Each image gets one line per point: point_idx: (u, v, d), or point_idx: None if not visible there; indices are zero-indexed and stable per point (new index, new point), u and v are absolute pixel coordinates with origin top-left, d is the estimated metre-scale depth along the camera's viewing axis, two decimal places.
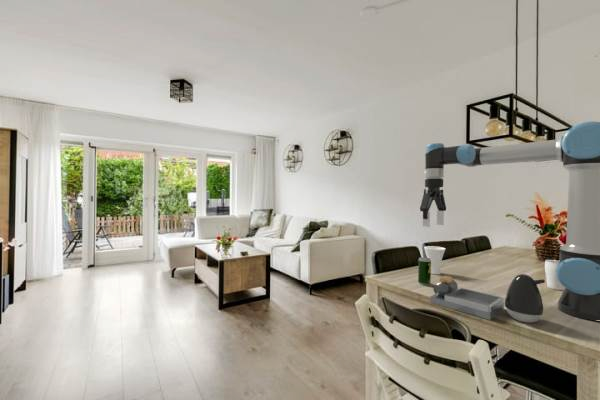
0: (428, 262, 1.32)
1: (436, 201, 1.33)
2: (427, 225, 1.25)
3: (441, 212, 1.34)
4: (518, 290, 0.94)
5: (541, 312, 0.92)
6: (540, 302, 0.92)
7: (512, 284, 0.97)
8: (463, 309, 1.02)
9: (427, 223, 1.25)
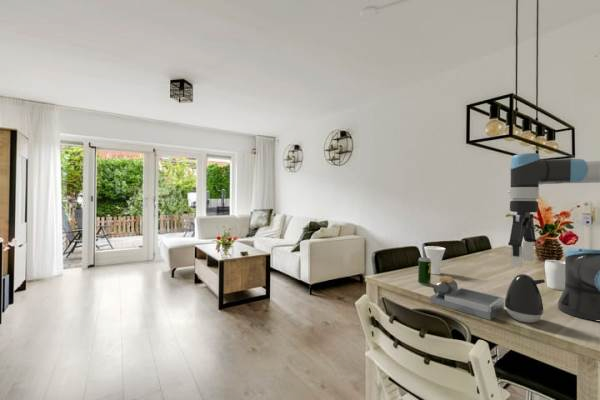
0: (428, 262, 1.32)
1: (524, 230, 1.00)
2: (519, 265, 0.92)
3: (530, 244, 1.00)
4: (518, 290, 0.94)
5: (541, 312, 0.92)
6: (540, 302, 0.92)
7: (512, 284, 0.97)
8: (463, 309, 1.02)
9: (519, 262, 0.92)
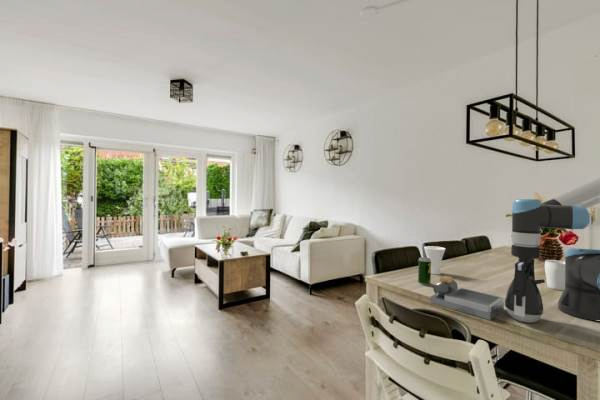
0: (428, 262, 1.32)
1: None
2: (522, 314, 0.92)
3: None
4: None
5: (541, 312, 0.92)
6: (540, 302, 0.92)
7: (512, 284, 0.97)
8: (463, 309, 1.02)
9: (522, 312, 0.92)
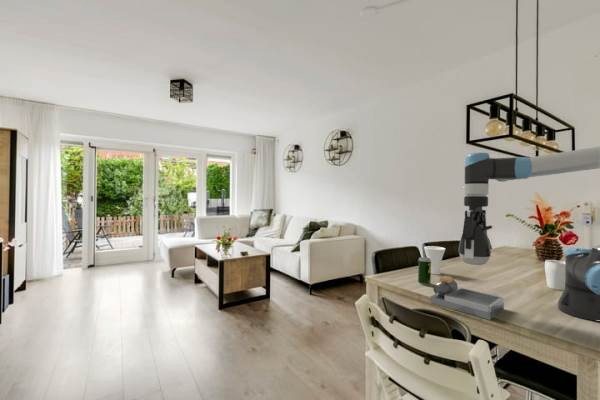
0: (428, 262, 1.32)
1: None
2: (471, 257, 1.02)
3: None
4: None
5: (488, 254, 1.02)
6: (487, 245, 1.02)
7: None
8: (463, 309, 1.02)
9: (471, 254, 1.02)
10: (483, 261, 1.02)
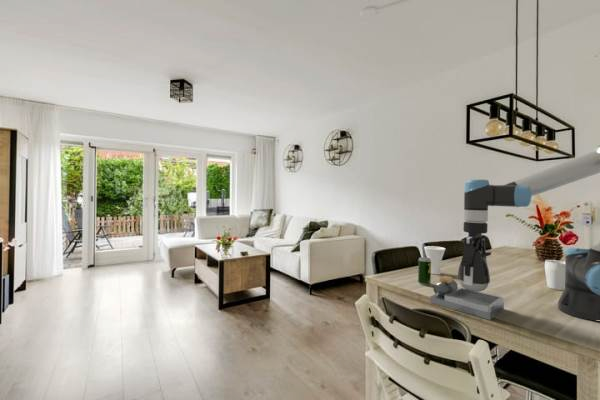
0: (428, 262, 1.32)
1: None
2: (470, 283, 1.02)
3: None
4: None
5: (487, 281, 1.02)
6: (486, 272, 1.02)
7: None
8: (463, 309, 1.02)
9: (470, 281, 1.02)
10: (482, 288, 1.02)
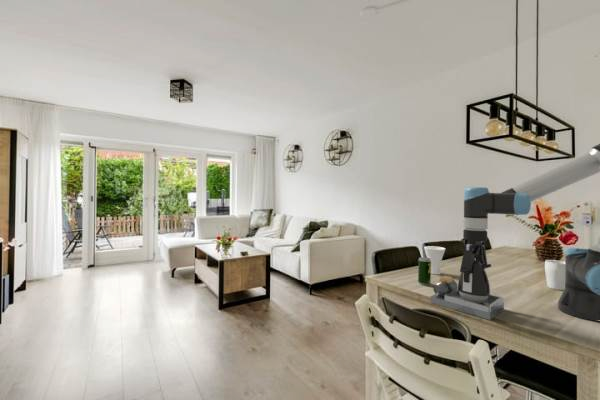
0: (428, 262, 1.32)
1: (476, 256, 1.09)
2: (469, 290, 1.01)
3: None
4: None
5: (487, 293, 1.02)
6: (486, 284, 1.02)
7: None
8: (463, 309, 1.02)
9: (469, 288, 1.01)
10: (482, 300, 1.02)
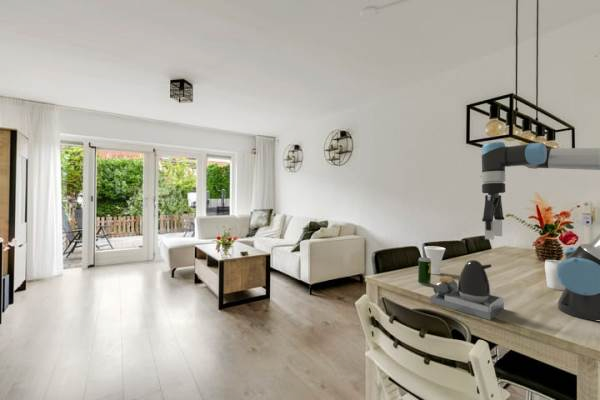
0: (428, 262, 1.32)
1: (494, 209, 1.15)
2: (491, 237, 1.07)
3: (499, 221, 1.16)
4: (467, 274, 1.04)
5: (487, 294, 1.02)
6: (486, 285, 1.02)
7: (463, 269, 1.07)
8: (463, 309, 1.02)
9: (491, 235, 1.07)
10: (482, 300, 1.02)
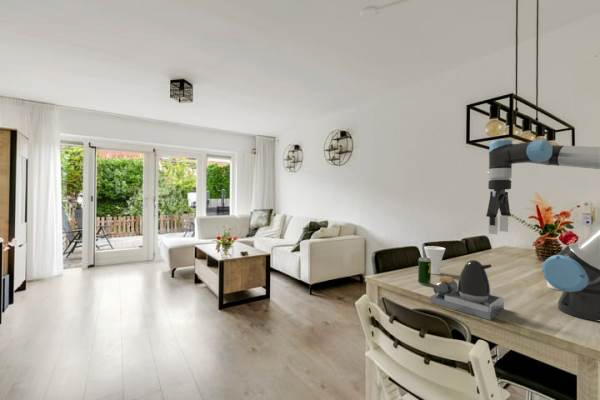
0: (428, 262, 1.32)
1: (500, 205, 1.18)
2: (495, 232, 1.10)
3: (505, 217, 1.19)
4: (467, 274, 1.04)
5: (487, 294, 1.02)
6: (486, 285, 1.02)
7: (463, 269, 1.07)
8: (463, 309, 1.02)
9: (495, 230, 1.10)
10: (482, 300, 1.02)
